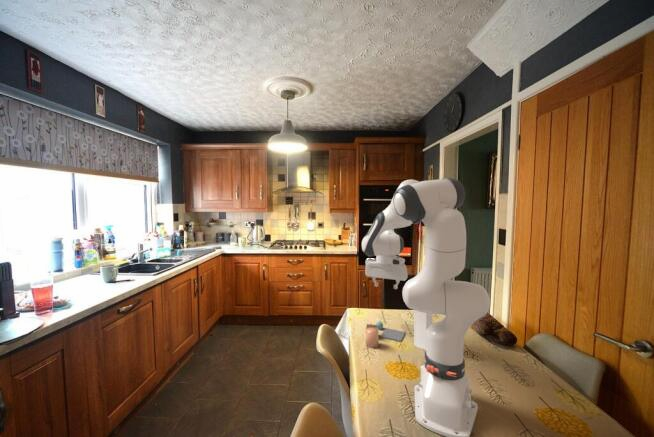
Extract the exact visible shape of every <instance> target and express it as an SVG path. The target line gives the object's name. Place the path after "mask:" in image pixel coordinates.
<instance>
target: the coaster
mask: <svg viewBox="0 0 654 437" xmlns="http://www.w3.org/2000/svg"><path fill="white" fill-rule="evenodd" d="M405 335H406V331H403V330H397V329H393V328H392V329H391V328H387V327H385V328H384V330H383V332H381V334H380V336H379V337H380V338H381V339H387V340H390V341H395V342H399V343H400V342H402V340H403V338H404V336H405Z"/></svg>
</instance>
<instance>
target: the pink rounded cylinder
mask: <svg viewBox="0 0 654 437" xmlns="http://www.w3.org/2000/svg"><path fill="white" fill-rule="evenodd" d="M365 338H366V339H365V341H366V342H365V343H366V347H367V348H369V349H377V348H379V330H378V328H377V329H376V328H367V329H366V328H365Z"/></svg>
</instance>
